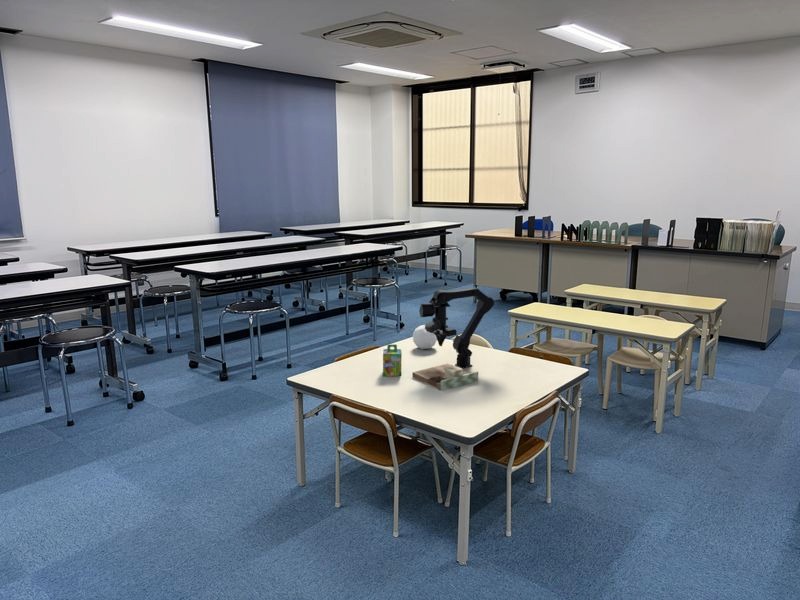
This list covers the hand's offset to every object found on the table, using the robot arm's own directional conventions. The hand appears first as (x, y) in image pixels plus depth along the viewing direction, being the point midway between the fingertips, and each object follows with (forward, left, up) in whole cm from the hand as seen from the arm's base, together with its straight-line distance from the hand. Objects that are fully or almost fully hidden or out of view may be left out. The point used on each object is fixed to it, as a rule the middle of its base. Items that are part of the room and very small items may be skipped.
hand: (440, 345), depth 289 cm
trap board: (+8, +13, -12) cm, 19 cm away
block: (+8, +20, -10) cm, 24 cm away
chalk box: (+24, -8, -12) cm, 28 cm away
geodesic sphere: (-15, -33, -12) cm, 38 cm away
